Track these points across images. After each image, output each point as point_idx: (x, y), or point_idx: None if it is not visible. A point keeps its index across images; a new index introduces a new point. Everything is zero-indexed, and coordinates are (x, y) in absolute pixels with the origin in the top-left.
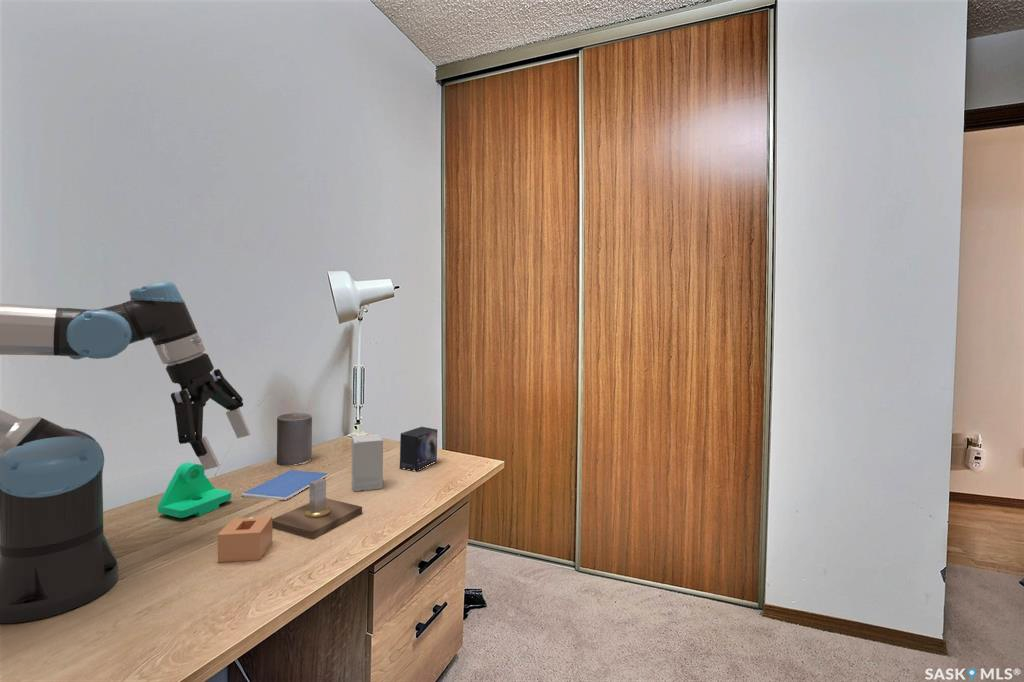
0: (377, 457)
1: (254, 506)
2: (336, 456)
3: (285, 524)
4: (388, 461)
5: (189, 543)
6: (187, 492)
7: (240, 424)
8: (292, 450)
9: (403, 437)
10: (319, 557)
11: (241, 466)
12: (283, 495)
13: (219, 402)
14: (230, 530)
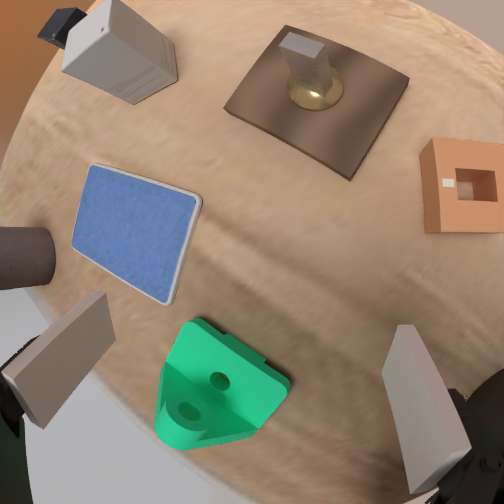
0: (136, 17)
1: (226, 258)
2: (34, 191)
3: (376, 135)
4: (66, 96)
5: None
6: (208, 404)
7: (72, 341)
8: (32, 253)
9: (61, 35)
10: (465, 69)
11: None
12: (184, 208)
13: (25, 494)
14: (499, 211)
